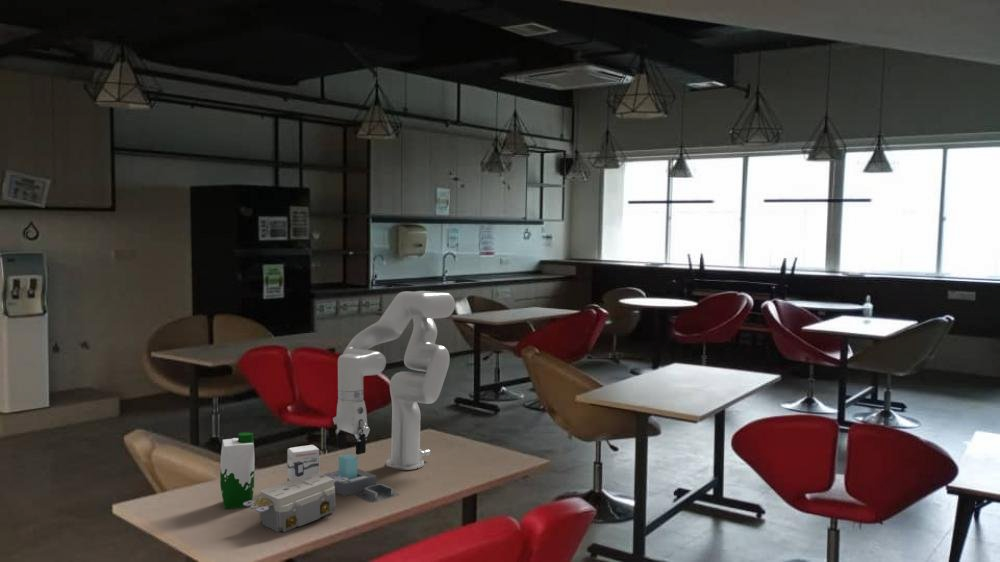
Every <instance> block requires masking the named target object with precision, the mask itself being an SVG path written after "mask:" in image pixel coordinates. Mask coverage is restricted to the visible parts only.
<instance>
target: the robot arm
mask: <svg viewBox="0 0 1000 562" xmlns="http://www.w3.org/2000/svg"><path fill="white" fill-rule="evenodd" d="M455 308H456V301H455V298H454V296H452V294H451V293H448V292H442V291H441V292H440V291H430V290H428V291H427V290H416V291H410V290H408V291H406V290H405V291H401V292H399V293H397V294H396V295H395V297H394V298H393V300H392V301H391V303H390V304H389V305H388V307H387V308H386V309H385V311H384V313H383V314H381V315H382V316H381V317H380V318H379V320H378V321H376V322H375V323H373V324H371V325H369V326H367V327H366V328H365V329H363V330H361V331H359V332H358V333H357V334H355V336H354V337H353V338H351V340H350V342H349V343H348V344H347V346H346V347H345V349H344V351H343V353H342V354H340V355H339V356H338V358H337V397H338V398H337V403H336V416H334V417H333V418H332V421H333V424H334V425H333V427H334V429H335V434H336V447H337V448H341V447H346V446H347V437H348V436H347V433H349V434H351V435H354V437H355V439H356V441H355V455H356V456H357V455H358V456H359V455H362V454H366V451H367V450H366V449H367V448H366V442H367V440H368V437H369V434H370V430H371V429H370V427H369V426H368V418H367V417H368V416H367V415H368V413H367V408H366V407H367V406H366V402H365V400H364V377H366V376H376V375H379V374H381V373H382V372H383V371H384V369H386V366H387V359H386V356H385V355H384V354H383V353H381V351H377V350H373V349H372V350H371V348H373V347H375V346H378V345H380V344H383V343H388V342H391V341H394V340H397V339H398V338H400V337H401V336H402V334H403V332H404V331H405V330H406V328H407V327H408V325H409V324H410V322H411V321H412V322H413V329H412V333H411V336H410V338H409V341H408V344H407V347H406V349H405V353H404V358H403V363H404V366H405V367H406V368H408V369H410V370H414V371H418V372H411V371H399V372H396V373H395V374H393V375H392V376H391V379H390V381H389V392H390V398H391V409H392V410H391V411H392V412H391V413H392V414H391V447H390V448H391V449H390V450H391V452H390V454H391V455H390V458H389V459H387V460H386V467H388V468H389V467H390V468H393V469H396V470H399V471H410V470H411V471H412V470H417V468H418V469H420V468H422V467H423V466H424V465H425V461H424V459H423V457H426V456H431V450H430V449H424V450H423V449H421V419H422V418H421V417H422V416H421V410H420V406H419V404H428V405H429V404H433V403H435V402H436V401H437V400H438V398H439V397H440V395H441V391H442V388H443V385H444V382H445V379H446V377H447V372H448V370H449V368H450V367H449V366H450V360H451V358H450V357H451V356H450V353H449V350H448V349H447V347H445V346H444V345H441V344H436V340H437V336H438V329H437V325H436V322H435V321H434V319H445V318H449V317H450V316H451V315H452V314H453V313H454V311H455ZM419 372H426V373H419ZM418 403H419V404H418Z"/></svg>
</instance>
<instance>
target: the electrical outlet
mask: <svg viewBox="0 0 1000 562" xmlns="http://www.w3.org/2000/svg"><path fill="white" fill-rule="evenodd" d="M337 481H338V482H345V481H348V478H346V477H342V478H341V476H339V475H335V473H331V472H327V473H324V475H323V474H322V473H320V472H319V473H317V472H313V473H310V474H307V475H305V476H302V477H299V478H296V479H293V480H290V481H284V482H281V483H279V484H277V485H273V486H271V487H270V486H269V487H267V488H264V489H262V490H260V491H259V494H260V495H259V499H258V500H253V499H252V500H251V501H247V502H244V503H243V505H244V506H250V509H253V510H255V511H256V512H257V513H259V518H260V520H261V521H260V522H261V524H262V526H264V527H267V528H269V529H271V530H273V531H275V532H277V533H278V532H283V533H286V532H287V531H291V530H292V529H294V528H297V527H302V526H304V525H307V524H309V523H312V522H314V521H316V520H319V519H321V518H322V517H325V516H327V515H330V514H332V513H333V512H334V511H335V509H336V493H335V486H334V482H337ZM248 503H249V504H248Z"/></svg>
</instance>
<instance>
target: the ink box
mask: <svg viewBox="0 0 1000 562" xmlns="http://www.w3.org/2000/svg"><path fill="white" fill-rule="evenodd" d="M286 459H287V466H286V467H287V468H286V469H287V472H286V475H287V476H286V477H287V478H286V479H287V481H290V480H293V479H296V478H299V477H302V476H305V475H307V474H310V473H313V472H317V473H319V474H320V449H319V448H318V447H317V446H315V445H314V444H309V445H301V446H294V447H289V448H287V457H286ZM287 481H286V482H287Z"/></svg>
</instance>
